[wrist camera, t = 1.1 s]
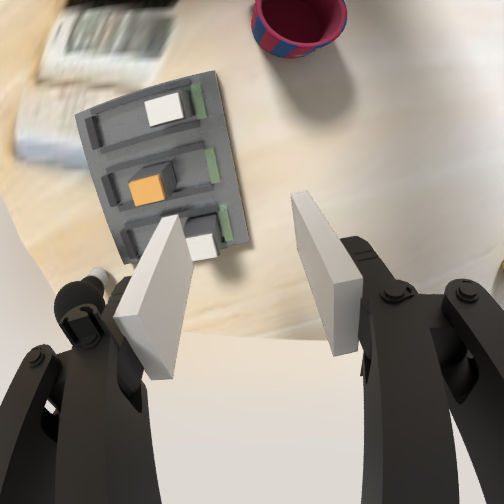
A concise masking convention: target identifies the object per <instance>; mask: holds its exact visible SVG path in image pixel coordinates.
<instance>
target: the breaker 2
mask: <svg viewBox="0 0 504 504" xmlns="http://www.w3.org/2000/svg"><path fill="white" fill-rule="evenodd" d="M183 232H184V236H185V239H186V242H187V246H188V249H189V252H190V255H191V258H192V261H197V260H203V259H208V258H214V257H217V256H218V255H220V251H221V240H222V234H221V230H220V226H219V222H218V218H217V214H213V215H208V216H203V217H198V218H192V219H187V220H186V223H185V225H184V228H183Z"/></svg>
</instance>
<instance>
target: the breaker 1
mask: <svg viewBox="0 0 504 504" xmlns="http://www.w3.org/2000/svg"><path fill="white" fill-rule="evenodd" d="M144 104H145V108H146V113H147V117H148V121H149V125H150V129H151V128H154V127H158V126H162V125H165V124H169V123H173V122H177V121H181V120H185V119H188V118H190V117H192V116H194V113H193V108H192V103H191V99H190V94H189V90H177V91H173V92H170V93H166V94H162V95H159V96H155V97H152V98H149V99H145V100H144Z"/></svg>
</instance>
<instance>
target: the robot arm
mask: <svg viewBox="0 0 504 504" xmlns="http://www.w3.org/2000/svg"><path fill="white" fill-rule="evenodd" d="M290 195H291V202H292V210H293V218H294V226H295V234H296V243H297V250H298V252H299V255H300V258H301V261H302V264H303V267H304V269H305V272H306V275H307V278H308V281H309V284H310V287H311V290H312V293H313V296H314V299H315V301H316V304H317V307H318V310H319V313H320V316H321V320H322V323H323V326H324V329H325V332H326V335H327V338H328V341H329V344H330V347H331V350H332V354H333V356H339V355H343V354H348V353H352V352H356V351H358V342H359V341H360V343H361V345H362V348H363V350H364V353H363V360H362V367H361V374H360V376H363V386H364V464H363V484H362V498H361V504H459V484H458V471H457V461H456V451H455V443H454V436H453V430H452V423H451V418H450V412H449V409H450V411H451V414H452V416H453V418H454V420H455V422H456V425H457V427H458V429H459V432H460V434H461V436H462V439H463V441H464V443H465V446H466V448H467V451H468V453H469V456H470V458H471V461H472V463H473V466H474V469H475V472H476V474H477V477H478V480H479V483H480V485H481V488H482V491H483V494H484V497H485V500H486V503H487V504H504V311H503V309H502V308H501V307H500V306H499V305H498V303H497V302H496V301H495V300H494V299H493V298H492V296H491V295H490V294H489V293H488V292H487V291H486V290H485V289H484V288H483V287H482V286H481V285H480V284H478V283H476V282H474V281H472V280H468V279H455V280H453V281H451V282H449V283H448V285H447V286H446V288H445V292H444V294H430V295H426V294H418V292H417V291H416V289H415V288H414V287H413V286H412V285H410V284H409V283H408V282H404V281H401V280H396V279H395V278H394V277H393V275H392V274H391V272H390V271H389V270H388V268H387V267H386V266H385V264H384V263H383V261H382V260H381V259H380V258H379V256H378V255H377V253H376V252H375V251H374V249H373V248H372V247H371V245H370V244H369V243H368V242H367V241H366V240H364V239H362V238H360V237H358V236H353V237H347V238H341V239H339V238H338V236H337V234H336V233H335V231H334V230H333V228H332V227H331V225H330V224H329V222H328V220H327V219H326V217H325V216H324V214H323V213H322V211H321V210H320V208H319V207H318V205H317V204H316V202H315V201H314V199H313V198H312V196H311V195H310V193H309V192H308V191H303V192H296V193H290ZM193 269H194V265H193V262H192V258H191V255H190V252H189V249H188V246H187V242H186V239H185V236H184V232H183V229H182V226H181V222H180V219H179V215H178V214H177V215H172V216H168V217H163V218H162V219H161V221H160V223H159V224H158V226H157V228H156V230H155V232H154V234H153V236H152V238H151V239H150V241H149V243H148V245H147V247H146V249H145V251H144V253H143V255H142V257H141V259H140V261H139V263H138V265H137V267H136V269H135V271H134V273H133V275H132V276H127V277H124V278H123V279H122V280H121V281H120V282H119V283H118V284H117V285H116V287H115V289H114V291H113V292H112V294H111V295H112V296H111V297H110V298H109V300H108V304H106V306H105V308H104V310H103V313H102V315H101V314H100V312H99V311H98V309H97V307H96V306H95V305H93V304H82V305H79V306H77V307H75V308H73V309H71V310H70V311H69V312H67V313H66V314H65V315H64V316H63V317H62V319H61V321H60V322H59V326H60V327H61V329H62V330H63V332H64V333H65V335H66V337H67V338H68V339H69V341H70V342H71V344H72V345H73V346H72V350H69V351H66V352H63V353H59V354H56V353H55V352H54V351H53V349H52V348H51V347H50V346H49V345H45V344H43V345H39V346H36V347H35V348H33V349H31V351H30V352H28V353H27V355H26V356H25V358H24V359H23V361H22V363H21V365H20V367H19V369H18V370H17V372H16V374H15V377H14V378H13V380H12V383H11V384H10V386H9V389H8V391H7V393H6V395H5V397H4V399H3V401H2V404H1V406H0V504H162V502H161V497H160V492H159V487H158V480H157V474H156V467H155V461H154V454H153V446H152V438H151V429H150V419H149V409H148V397H147V389H146V386H145V384H144V383H143V381H142V380H141V379H142V375H143V371H144V370H145V372H146V373H147V375H148V376H149V378H150V379H151V380H165V379H173V375H174V369H175V362H176V357H177V351H178V345H179V340H180V334H181V329H182V324H183V319H184V313H185V308H186V303H187V298H188V293H189V288H190V283H191V279H192V274H193ZM47 400H48V401H49V402H50V403H51V404H52V405H53V406H54V407H55V408H56V409H55V411H54V413H53V414H51V413H50V412H49V411H48V410H47V409H46V408H45V407H44V406H45V404H46V401H47Z"/></svg>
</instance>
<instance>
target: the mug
mask: <svg viewBox="0 0 504 504" xmlns="http://www.w3.org/2000/svg"><path fill="white" fill-rule="evenodd" d="M346 21H347V9H346V5H345V2H344V0H256V3H255V7H254V12H253V16H252V21H251V28H252V33H253V35H254V38H255V39H256V41H257V42H258V44H259V45H260V46H261V47H262V48H263V49H265V50H266V51H267V52H269V53H271V54H273V55H276V56H278V57H283V58H298V57H302V56H305V55H307V54H309V53H311V52H313V51H315V50H317V49H319V48H321V47H323V46H325V45H327V44H329V43H331V42H332V41H334V40H335V39H336V38H337V37H339V36H340V34H341V33H342V32H343V30H344V28H345V25H346Z"/></svg>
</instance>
